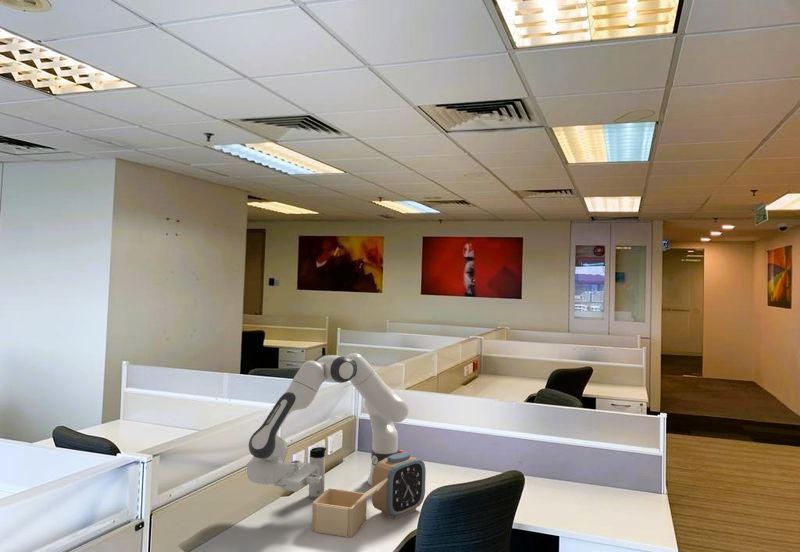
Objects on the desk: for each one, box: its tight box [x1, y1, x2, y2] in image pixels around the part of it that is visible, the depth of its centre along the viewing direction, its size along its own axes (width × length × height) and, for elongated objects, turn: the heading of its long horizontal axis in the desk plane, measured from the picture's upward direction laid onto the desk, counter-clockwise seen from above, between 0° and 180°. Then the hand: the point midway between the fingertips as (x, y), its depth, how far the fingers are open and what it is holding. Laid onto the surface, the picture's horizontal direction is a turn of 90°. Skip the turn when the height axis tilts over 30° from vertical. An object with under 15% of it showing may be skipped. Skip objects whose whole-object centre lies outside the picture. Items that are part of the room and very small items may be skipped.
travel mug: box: [308, 446, 327, 500], centre depth 233 cm, size 6×7×20 cm
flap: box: [354, 478, 388, 506], centre depth 202 cm, size 1×12×10 cm
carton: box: [311, 488, 368, 539], centre depth 206 cm, size 16×16×10 cm
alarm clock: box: [371, 451, 427, 520], centre depth 219 cm, size 21×10×22 cm, turn 137°
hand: (321, 479), depth 208 cm, fingers closed
